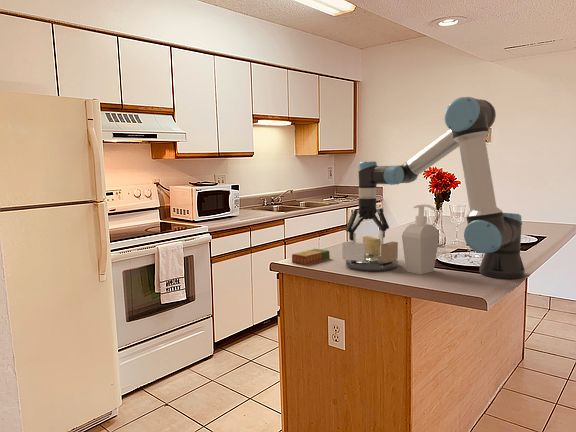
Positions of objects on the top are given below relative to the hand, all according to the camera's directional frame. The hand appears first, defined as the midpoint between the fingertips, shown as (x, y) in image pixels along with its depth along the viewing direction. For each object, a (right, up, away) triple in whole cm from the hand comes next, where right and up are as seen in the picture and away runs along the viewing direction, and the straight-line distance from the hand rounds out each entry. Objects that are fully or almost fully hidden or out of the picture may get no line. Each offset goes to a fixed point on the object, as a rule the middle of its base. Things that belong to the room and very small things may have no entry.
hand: (367, 246), depth 193 cm
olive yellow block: (+1, -4, -3) cm, 5 cm away
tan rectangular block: (+6, -5, -16) cm, 18 cm away
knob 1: (-8, -5, -13) cm, 16 cm away
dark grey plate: (0, -7, -10) cm, 13 cm away
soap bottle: (+17, -8, -21) cm, 29 cm away
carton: (-24, -7, +1) cm, 25 cm away
